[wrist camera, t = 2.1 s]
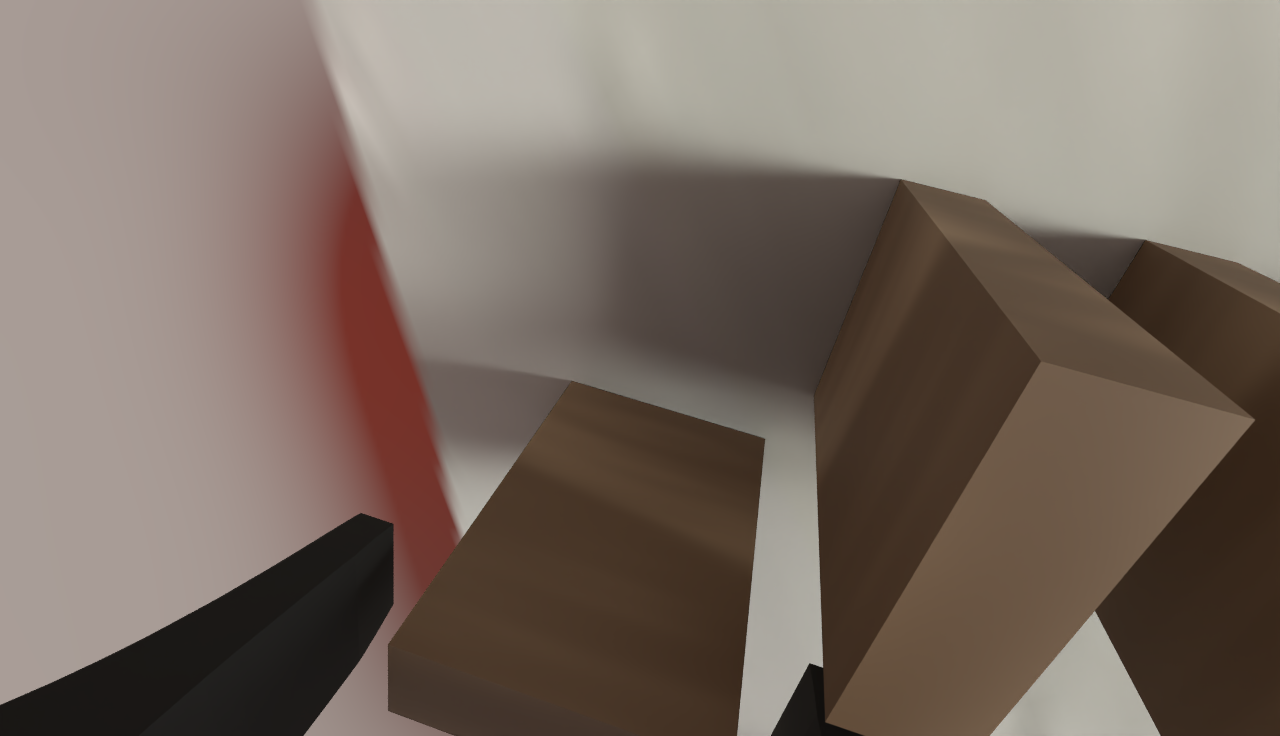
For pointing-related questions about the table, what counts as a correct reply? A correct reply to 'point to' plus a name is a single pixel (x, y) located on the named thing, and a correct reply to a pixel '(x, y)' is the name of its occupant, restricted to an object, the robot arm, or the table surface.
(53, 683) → the robot arm
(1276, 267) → the table surface
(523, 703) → the domino
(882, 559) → the domino
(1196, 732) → the domino
